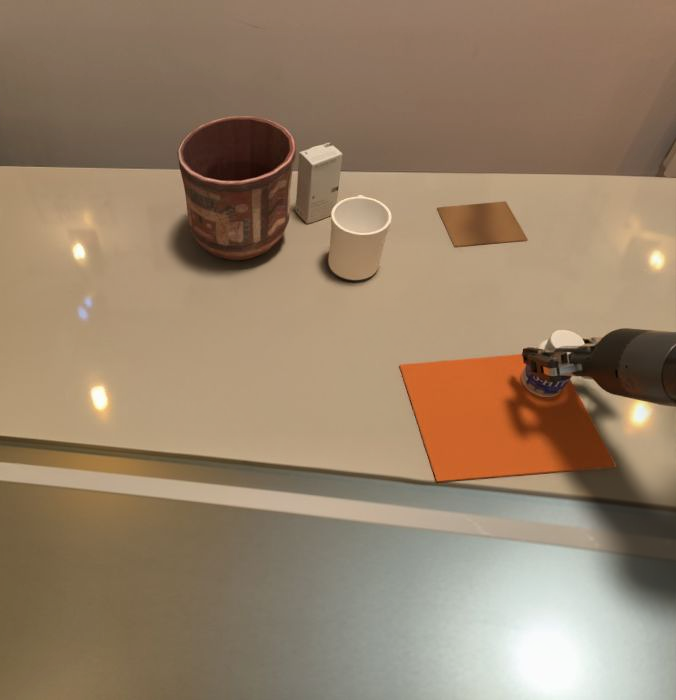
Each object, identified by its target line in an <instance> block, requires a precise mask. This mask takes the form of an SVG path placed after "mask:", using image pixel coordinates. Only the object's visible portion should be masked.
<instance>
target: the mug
mask: <svg viewBox="0 0 676 700" xmlns="http://www.w3.org/2000/svg"><path fill="white" fill-rule="evenodd" d="M391 212H392V211H391V210H390V209H389V207H388V206H387V205H386V204H384V202H382V201H379V200H378V199H375V198H371V197H368V196H367V197H366V196H365V194H364V195H363V194H358V195H357V196H351V197H347V198H345V199H341V200H340V201H338V202H337V204H336V205H335V206H334V208H333V209H332V213H331V216H330V237H329V238H330V239H329V249H328V260H327V263H328V268H329V270H330V272H331V274H333V275H334V276H335V277H337V278H338V279H340V280H342V281H345V282H351V283H360V282H365V281H367V280H369V279H371V278H372V277H374V276H375V275H376V274H377V272H378V270H379V266H380V262H381V258H382V254H383V250H384V246H385V242H386V237H387V234H388V232H389V228H390V226H391V223H392V213H391Z"/></svg>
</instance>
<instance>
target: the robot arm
mask: <svg viewBox="0 0 676 700" xmlns="http://www.w3.org/2000/svg"><path fill="white" fill-rule="evenodd" d="M582 339H583V341H584V343H585V344H584V345H581V346H561V347H559V348H556V349H555V350H545V349H538V348H537V347H530V346H528V347H524V348H523V349H522V352H521V354H522V356H523V363H525V364H526V365H530V373H531V375H534V376H536V377H539V378H541V379H544V380H546V381H548V382H553V383H556V382H559V381H561V379H560V375H561V376H572V377H581V378H582V379H583V380H584V379H586V380H593V381H594V382H595V383H596V384H597V385H598V387H600V388H601V389H602V390H603V391H605V392H606V393H608V394H611V395H614V396H619V397H623V398H628V399H632V400H637V401H642V402H646V403H649V404H655V405H658V406H659V405H661V406H665V407H674V408H675V407H676V331H666V330H654V329H642V328H629V327H628V328H627V327H624V328H623V327H622V328H617V329H614V330H612V331H610V332H608V333H607V334H605V335H604V336H600V337H596V336H592V337H590V338H582ZM567 352H571V353H570V354H569V363H568V359H567ZM550 356H554V357H555V358H550Z"/></svg>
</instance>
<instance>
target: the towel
mask: <svg viewBox="0 0 676 700" xmlns="http://www.w3.org/2000/svg"><path fill="white" fill-rule="evenodd" d="M399 366H400V367H399V370H400V373H401V377H402V379H403V383H404V382H405V383H404V386H405V385H406V386H405V389H406V388H407V389H406V392H407V391H408V392H407V395H408V394H409V395H408V398H409V397H410V398H409V401H410V400H411V401H410V404H411V403H412V405H411V407H413V408H412V411H413V410H414V411H413V414H414V413H415V414H414V417H415V416H416V417H415V420H416V423H417V422H418V423H417V426H419V427H418V429H420V430H419V433H420V432H421V433H420V436H421V439H422V442H423V445H424V448H425V452H426V456H427V458H428V461H429V465H430V467H431V470H432V469H433V471H432V473H433V472H434V474H433V476H434V475H435V477H434V479H436V480H435V482H436V483H445V482H446V481H447V482H458V481H457V480H459V481H468V480H469V479H471V480H481V479H480V478H482V479H492V478H505V477H515V476H517V477H518V476H529V475H540V474H550V473H551V474H552V473H561V472H572V471H573V472H574V471H575V472H576V471H585V470H586V471H587V470H598V469H611V468H615V467H617V465H616V463H615V461H614V459H613V457H612V456H611V453H610V451H609V450H608V448H607V446H606V444H605V442H604V441H603V438H602V436H601V434H600V432H599V430H598V429H597V427H596V425H595V423H594V421H593V419H592V418H591V415H590V414H589V412H588V410H587V408H586V406H585V404H584V402H583V401H582V399H581V397H580V395H579V393H578V391H577V390H576V387H575V386H574V383H573V382H572V379H570V380H569V381H568V382H567V384H566V385H565V387H564V388H563V389H562V391H561V392H560V393H559V394H557V395H556V396H553V397H541V396H538V395H535V394H533V393H531V392H530V391H529V390H528V389H527V388H526V387H525V386H524V385H523V383H522V379H521V375H522V372H523V370H524V368H525V367H526V364H525V363H523V356H522V353H519V354H508V355H497V356H496V355H495V356H485V357H475V358H474V357H473V358H462V359H451V360H450V359H449V360H440V361H427V362H418V363H417V362H416V363H406V364H405V363H404V364H399Z"/></svg>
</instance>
